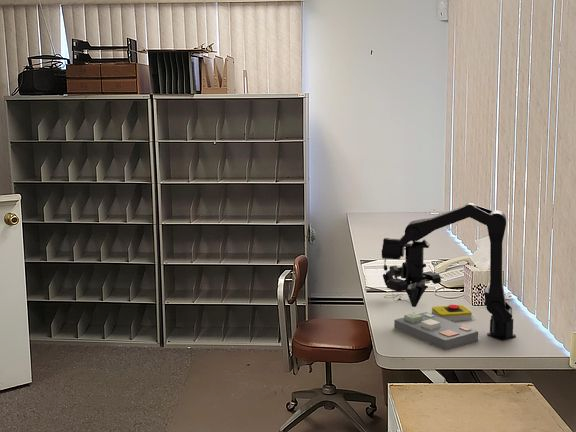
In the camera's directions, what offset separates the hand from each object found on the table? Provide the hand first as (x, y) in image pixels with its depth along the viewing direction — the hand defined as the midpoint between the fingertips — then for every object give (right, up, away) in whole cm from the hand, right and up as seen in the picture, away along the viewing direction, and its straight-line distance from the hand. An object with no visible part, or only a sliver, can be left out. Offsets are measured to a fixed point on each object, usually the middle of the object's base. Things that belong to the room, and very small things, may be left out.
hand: (413, 306), depth 217 cm
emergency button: (+15, -6, +12) cm, 20 cm away
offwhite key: (+4, -6, -6) cm, 9 cm away
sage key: (0, -5, +1) cm, 5 cm away
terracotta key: (+8, -8, -12) cm, 17 cm away
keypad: (+6, -8, -4) cm, 11 cm away
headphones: (+2, -2, +34) cm, 34 cm away
